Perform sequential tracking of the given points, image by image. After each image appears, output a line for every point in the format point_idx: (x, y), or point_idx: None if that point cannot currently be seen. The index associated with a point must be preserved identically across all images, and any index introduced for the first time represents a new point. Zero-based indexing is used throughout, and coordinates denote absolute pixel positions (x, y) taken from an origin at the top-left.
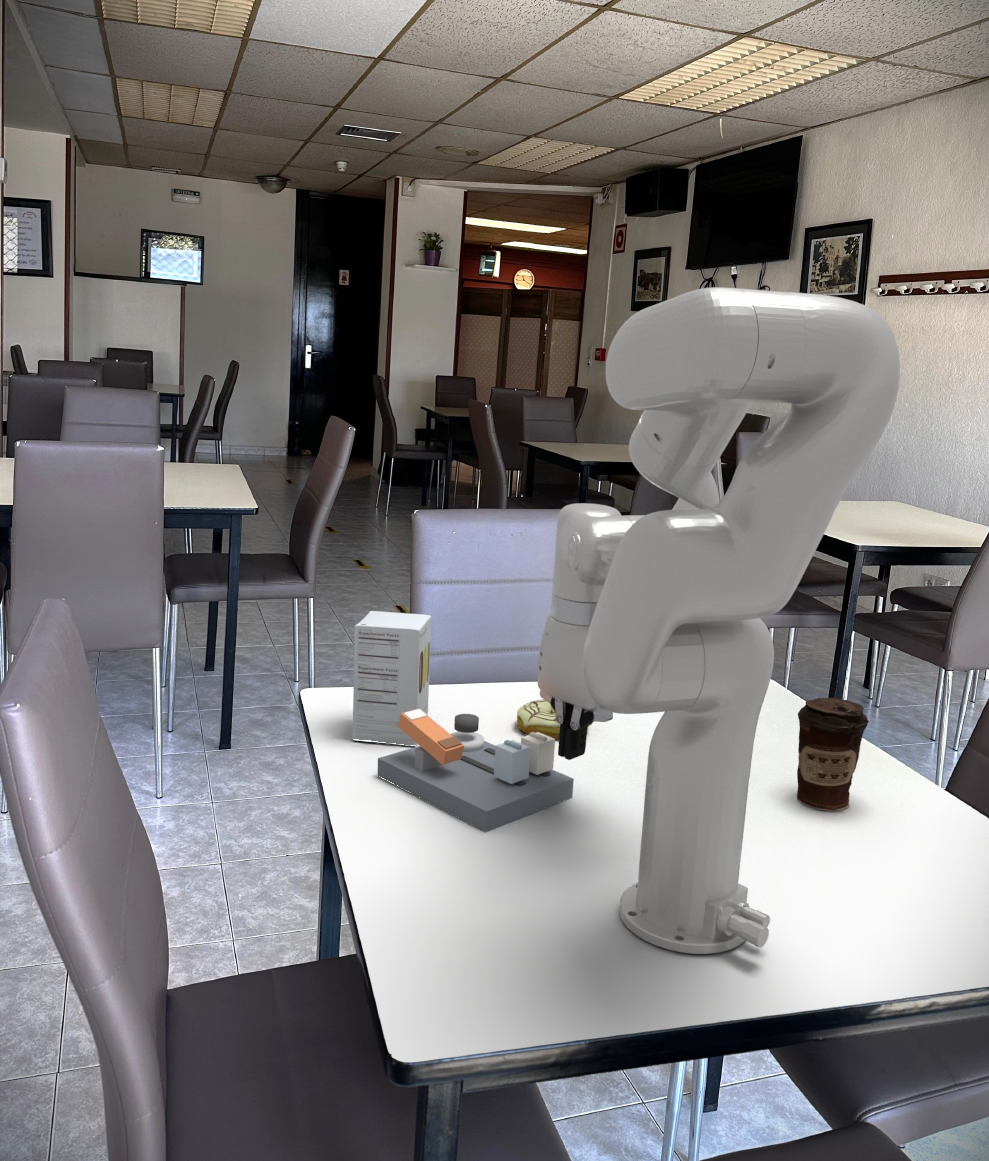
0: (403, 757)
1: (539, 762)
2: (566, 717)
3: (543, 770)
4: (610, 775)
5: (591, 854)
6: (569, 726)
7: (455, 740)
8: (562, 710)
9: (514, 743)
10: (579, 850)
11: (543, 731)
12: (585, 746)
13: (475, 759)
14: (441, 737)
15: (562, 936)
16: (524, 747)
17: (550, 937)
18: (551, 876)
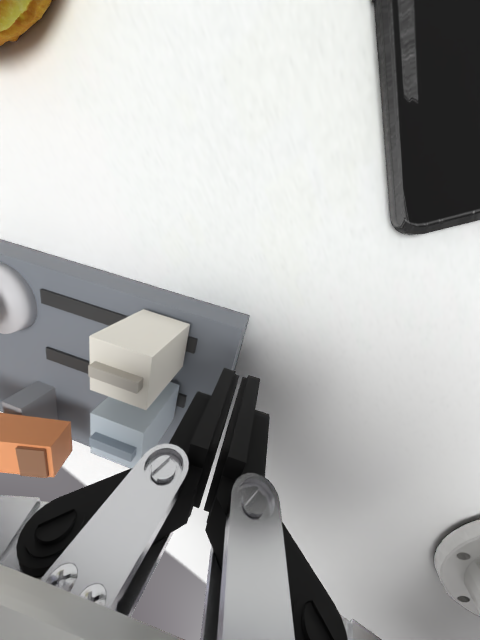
0: (6, 392)
1: (171, 375)
2: (171, 533)
3: (183, 353)
4: (266, 149)
5: (355, 467)
6: (201, 496)
7: (29, 454)
8: (142, 592)
9: (112, 449)
10: (335, 463)
11: (5, 28)
12: (268, 422)
13: (65, 345)
14: (8, 459)
15: (382, 596)
16: (136, 439)
17: (371, 598)
18: (327, 520)
